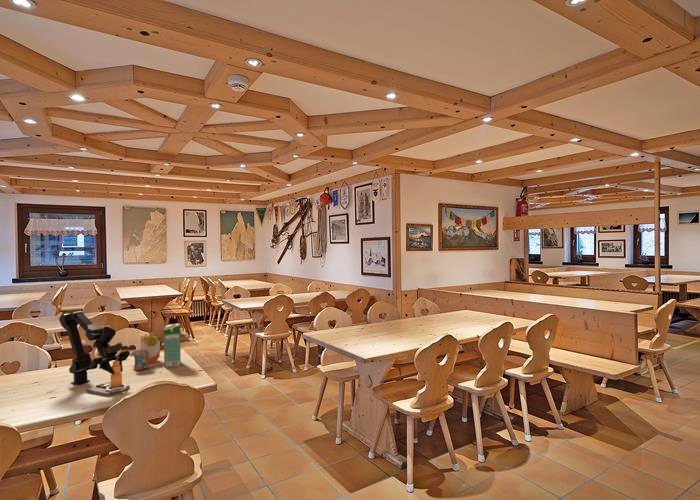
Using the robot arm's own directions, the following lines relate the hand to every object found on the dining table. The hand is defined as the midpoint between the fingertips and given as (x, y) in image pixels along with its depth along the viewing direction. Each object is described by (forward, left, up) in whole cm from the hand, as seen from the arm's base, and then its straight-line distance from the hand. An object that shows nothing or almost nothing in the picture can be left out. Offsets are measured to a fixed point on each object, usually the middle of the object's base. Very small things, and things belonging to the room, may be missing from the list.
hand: (117, 372), depth 209 cm
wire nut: (-1, 0, -7) cm, 7 cm away
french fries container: (-27, +45, -10) cm, 54 cm away
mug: (-20, +33, -10) cm, 40 cm away
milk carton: (-10, +46, -10) cm, 48 cm away
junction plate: (-6, 0, -10) cm, 12 cm away
